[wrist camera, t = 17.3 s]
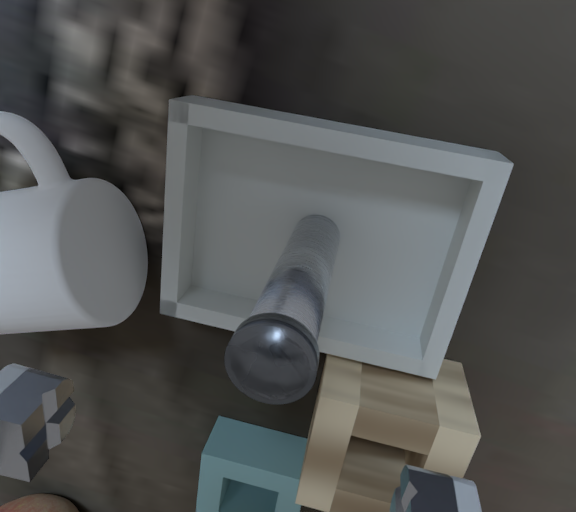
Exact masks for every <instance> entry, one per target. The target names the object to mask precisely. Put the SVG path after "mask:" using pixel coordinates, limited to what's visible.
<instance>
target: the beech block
mask: <svg viewBox="0 0 576 512" xmlns="http://www.w3.org/2000/svg"><path fill="white" fill-rule="evenodd" d="M480 438H481V434H480V430H479V427H478V423H477V419H476V415H475V412H474V408H473V404H472V400H471V397H470V393H469V389H468V385H467V382H466V378H465V374H464V370H463V367H462V363H460V362H455V361H451V360H447V359H443V362H442V364H441V367H440V370H439V373H438V376H437V378H436V380H435V379H431V378H427V377H423V376H419V375H414V374H410V373H406V372H402V371H398V370H394V369H389V368H385V367H381V366H377V365H373V364H369V363H364V362H360V361H356V360H352V359H348V358H343V357H339V356H335V355H331V354H327V355H326V359H325V363H324V368H323V372H322V376H321V381H320V385H319V389H318V394H317V398H316V402H315V407H314V411H313V416H312V420H311V424H310V429H309V434H308V439H307V444H306V449H305V455H304V460H303V465H302V470H301V475H300V480H299V486H298V491H297V496H296V501H295V504H299V505H303V506H306V507H310V508H314V509H317V510H321V511H324V512H389V510H390V505H391V500H392V496H393V493H394V490H395V488H397V487H399V486H401V484H400V474H401V472H402V470H403V467H404V466H405V465H410V466H415V467H419V468H423V469H427V470H431V471H435V472H439V473H443V474H447V475H449V476H455V477H459V478H463V476H464V474H465V472H466V470H467V467H468V465H469V463H470V461H471V458H472V456H473V454H474V451H475V449H476V447H477V445H478V442H479V440H480Z"/></svg>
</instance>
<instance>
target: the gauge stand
mask: <svg viewBox="0 0 576 512" xmlns="http://www.w3.org/2000/svg"><path fill="white" fill-rule="evenodd" d="M306 444H307V438H303V437H299V436H295V435H291V434H287V433H284V432H280V431H276V430H272V429H268V428H264V427H260V426H257V425H253V424H249V423H245V422H241V421H237V420H234V419H230V418H226V417H222V416H218V419H217V421H216V423H215V425H214V427H213V430H212V432H211V434H210V436H209V438H208V441H207V443H206V445H205V447H204V449H203V452H202V455H201V465H200V475H199V484H198V494H197V504H196V512H300V508H301V505H299V504H295V501H296V496H297V491H298V486H299V480H300V475H301V470H302V465H303V460H304V455H305V449H306Z"/></svg>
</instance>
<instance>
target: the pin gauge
mask: <svg viewBox="0 0 576 512" xmlns="http://www.w3.org/2000/svg"><path fill="white" fill-rule="evenodd" d="M339 242H340V232H339V229H338V227H337V225H336V224H335V223H334V222H333V221H332V220H331V219H330V218H328V217H326V216H324V215H319V214H312V215H308V216H306V217H304V218H302V219H301V220H300V221H299V222H298V223H297V225H296V226H295V228H294V230H293V232H292V234H291V236H290V238H289V240H288V242H287V244H286V246H285V248H284V250H283V252H282V254H281V256H280V258H279V260H278V262H277V263H276V265H275V267H274V269H273V271H272V273H271V275H270V277H269V279H268V281H267V283H266V285H265V287H264V289H263V291H262V293H261V295H260V297H259V299H258V301H257V303H256V305H255V306H254V308H253V310H252V312H251V314H250V316H249V318H247V319H246V320H244V321H243V322H242V323H241V324H240V325H239V326H238V327H237V329H236V331H235V332H234V334H233V336H232V338H231V340H230V342H229V344H228V345H227V348H226V351H225V357H224V362H225V368H226V371H227V374H228V376H229V378H230V379H231V381H232V382H233V384H234V385H235V386H236V387H237V388H238V389H239V390H240V391H241V392H242V393H244V394H245V395H247V396H248V397H250V398H252V399H254V400H257V401H259V402H263V403H267V404H287V403H291V402H294V401H297V400H298V399H300V398H302V397H303V396H305V395H306V394H307V393H308V392H309V391H310V389H311V388H312V386H313V384H314V382H315V379H316V375H317V370H318V365H319V358H320V353H319V347H318V344H317V341H318V336H319V332H320V327H321V323H322V318H323V314H324V309H325V305H326V300H327V296H328V291H329V287H330V282H331V278H332V274H333V269H334V265H335V260H336V256H337V251H338V247H339Z"/></svg>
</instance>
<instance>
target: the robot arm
mask: <svg viewBox="0 0 576 512" xmlns="http://www.w3.org/2000/svg"><path fill="white" fill-rule="evenodd" d="M73 392H74V387H73V380H70V379H68V378H65V377H61V376H58V375H54V374H51V373H47V372H44V371H40V370H37V369H33V368H29V367H25V366H22V365H18V364H14V363H13V364H10V365H8V366H6V367H4V368H3V369H2V370H1V371H0V475H3V476H7V477H11V478H15V479H19V480H23V481H27V482H31V480H32V479H33V478H34V477H35V475H36V474H37V473H38V472H39V470H40V469H41V468H42V467H43V465H44V464H45V463H46V462H47V460H48V459H49V449H50V448H52V447H54V446H56V445H58V444H60V443H62V441H63V440H64V439H65V437H66V436H67V435H68V433H69V431H70V429H71V427H72V425H73V422H74V419H75V413H76V409H75V404H74V402H73V401H72V400H71V398H70V397H69V396H70V395H71V394H72V393H73ZM400 484H401V486H399V487H397V488H395V490H394V493H393V496H392V500H391V505H390V510H389V512H482V510H481V505H480V501H479V496H478V491H477V487H476V485H475V483H474V482H473V481H471V480H467V479H463V478H459V477H455V476H449V475H447V474H443V473H439V472H435V471H431V470H427V469H423V468H419V467H415V466H410V465H405V466H404V467H403V470H402V472H401V474H400Z"/></svg>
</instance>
